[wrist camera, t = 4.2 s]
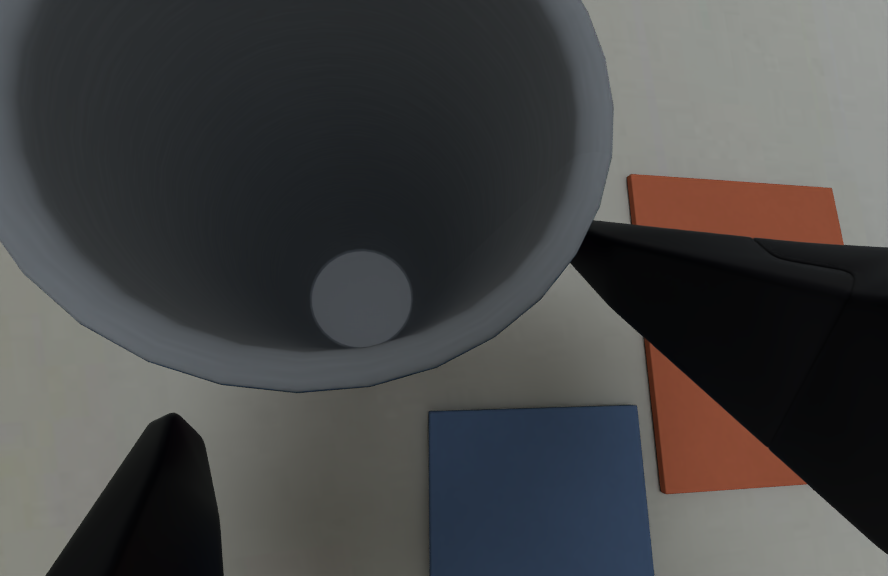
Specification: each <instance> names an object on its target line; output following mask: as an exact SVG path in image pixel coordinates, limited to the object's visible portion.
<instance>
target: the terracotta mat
mask: <svg viewBox="0 0 888 576" xmlns="http://www.w3.org/2000/svg"><path fill="white" fill-rule="evenodd" d="M627 183H628V192H629V201H630V210H631V220H632V225H642V226H651V227H661V228H670V229H680V230H689V231H699V232H708V233H717V234H727V235H736V236H746V237H751V238H752V239H753V238H755V237H756V238H765V239H775V240H785V241H796V242H807V243H822V244H836V245H844V244H843V239H842V234H841V229H840V225H839V220H838V215H837V210H836V206H835V201H834V196H833V191H832V188H823V187H809V186H795V185H780V184H766V183H751V182H737V181H723V180H708V179H694V178H679V177H665V176H651V175H636V174H631V175H629V176H628V177H627ZM644 340H645V349H646V359H647V368H648V377H649V387H650V396H651V405H652V414H653V424H654V433H655V442H656V451H657V461H658V470H659V479H660V488H661V492H662V493H665V494H676V493H690V492H704V491H718V490H732V489H747V488H761V487H775V486H789V485H803V484H807V483H806V482H805V481H803V480H802V479H801V478H800V477H799V476H798V475H797V474H796V473H794V472H793V471H792V470H791V469H790V468H789V467H788V466H787V465H786V464H784V463H783V462H782V461H781V460H780V459H779V458H778V457H777V456H775V455H774V454H773V453H772V452H771V451H770V450H769V449H768V447H766V446H765V445H764V444H762V443H761V442H760V441H759V440H758V439H757V438H756V437H755V436H753V435H752V434H751V433H750V432H749V431H748V430H747V429H746V428H745V427H743V426H742V425H741V424H740V423H739V422H738V421H737V420H736V419H734V418H733V417H732V416H731V415H730V414H729V413H728V412H727V411H726V410H724V409H723V408H722V407H721V406H720V405H719V404H718V403H717V402H716V401H714V400H713V399H712V398H711V397H710V396H709V395H708V394H707V393H705V392H704V391H703V390H702V389H701V388H700V387H699V386H698V385H697V384H695V383H694V382H693V381H692V380H691V379H690V378H689V377H688V376H686V375H685V374H684V373H683V372H682V371H681V370H680V369H679V368H678V367H676V366H675V365H674V364H673V363H672V362H671V361H670V360H669V359H667V358H666V357H665V356H664V355H663V354H662V353H661V352H660V351H659V350H657V349H656V348H655V347H654V346H653V345H652V344H651V343H650V342H649V341H647V340H646V339H645V338H644Z"/></svg>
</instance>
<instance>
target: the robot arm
mask: <svg viewBox="0 0 888 576" xmlns="http://www.w3.org/2000/svg"><path fill="white" fill-rule="evenodd" d="M570 263H571V264H572V265H573V267H574V268H575V269H576V270H577V271H578V272H579V273H580V274H581V275H582V277H583V278H584V279H585V280H586V281H587V282H588V283H589V284H590V285H591V287H592V288H593V289H594V290H595V291H596V292H597V293H598V294H599V295H600V297H601V298H602V299H603V300H604V301H605V302H606V303H607V304H608V305H609V306H610V307H611V308H612V309H613V310H614V311H615V312H616V313H617V314H618V315H619V316H621V317H622V318H623V319H624V320H625V321H626V322H627V323H628V324H630V325H631V326H632V327H633V328H634V329H635V330H636V331H637V332H638V333H640V334H641V335H642V336H643V337H644V338H645V339H646V340H647V341H649V342H650V343H651V344H652V345H653V346H654V347H655V348H656V349H657V350H659V351H660V352H661V353H662V354H663V355H664V356H665V357H666V358H667V359H669V360H670V361H671V362H672V363H673V364H674V365H675V366H676V367H678V368H679V369H680V370H681V371H682V372H683V373H684V374H685V375H686V376H688V377H689V378H690V379H691V380H692V381H693V382H694V383H695V384H697V385H698V386H699V387H700V388H701V389H702V390H703V391H704V392H705V393H707V394H708V395H709V396H710V397H711V398H712V399H713V400H714V401H716V402H717V403H718V404H719V405H720V406H721V407H722V408H723V409H724V410H726V411H727V412H728V413H729V414H730V415H731V416H732V417H733V418H734V419H736V420H737V421H738V422H739V423H740V424H741V425H742V426H743V427H745V428H746V429H747V430H748V431H749V432H750V433H751V434H752V435H753V436H755V437H756V438H757V439H758V440H759V441H760V442H761V443H762V444H764V445H765V446H766V447H768V449H769V450H770V451H771V452H772V453H773V454H774V455H775V456H777V457H778V458H779V459H780V460H781V461H782V462H783V463H784V464H786V465H787V466H788V467H789V468H790V469H791V470H792V471H793V472H794V473H796V474H797V475H798V476H799V477H800V478H801V479H802V480H803V481H805V482H806V483H807V484H808V485H809V486H810V487H811V488H812V489H813V490H815V491H816V492H817V493H818V494H819V495H820V496H821V497H822V498H823V499H825V500H826V501H827V502H828V503H829V504H830V505H831V506H832V507H834V508H835V509H836V510H837V511H838V512H839V513H840V514H841V515H842V516H844V517H845V518H846V519H847V520H848V521H849V522H850V523H851V524H852V525H854V526H855V527H856V528H857V529H858V530H859V531H860V532H861V533H863V534H864V535H865V536H866V537H867V538H868V539H869V540H870V541H871V542H873V543H874V544H875V545H876V546H877V547H879V548H880V549H881V550H882V551H884V552H885V553H886V554H888V248H887V247H870V246H853V245H836V244H822V243H807V242H796V241H785V240H775V239H765V238H756V237H755V238H753V239H752V238H751V237H746V236H736V235H727V234H717V233H708V232H699V231H689V230H680V229H670V228H661V227H651V226H642V225H632V224H623V223H614V222H604V221H595V220H593V221H592V223H591V225H590V227H589V229H588V231H587V234H586V236H585V238H584V240H583V242H582V244H581V246H580V248H579V250H578V252H577V254H576V256H575V257H574V258H573V259H572V261H571V262H570ZM46 576H224V573H223V558H222V544H221V530H220V519H219V513H218V507H217V502H216V497H215V492H214V487H213V482H212V477H211V472H210V467H209V462H208V457H207V452H206V447H205V444H204V441H203V439H202V437H201V436H200V435H199V434H198V433H197V432H196V431H195V430H194V429H193V428H192V427H191V426H190V425H189V424H188V423H187V422H186V421H185V420H184V419H183V418H182V417H181V416H180V415H178V414H176V413H169V414H167V415H165V416H163V417H161V418H158V419H156V420H154V421H152V422H151V423H150V424H149V425H148V426H147V427H146V429H145V430H144V432H143V433H142V435H141V436H140V438H139V439H138V440H137V442H136V443H135V445H134V446H133V448H132V449H131V451H130V452H129V454H128V455H127V457H126V458H125V460H124V461H123V463H122V464H121V465H120V467H119V468H118V470H117V471H116V473H115V474H114V476H113V477H112V479H111V480H110V482H109V483H108V485H107V486H106V488H105V489H104V490H103V492H102V493H101V495H100V496H99V498H98V499H97V501H96V502H95V504H94V505H93V507H92V508H91V510H90V511H89V513H88V514H87V516H86V517H85V518H84V520H83V521H82V523H81V524H80V526H79V527H78V529H77V530H76V532H75V533H74V535H73V536H72V538H71V539H70V541H69V542H68V543H67V545H66V546H65V548H64V549H63V551H62V552H61V554H60V555H59V557H58V558H57V560H56V561H55V563H54V564H53V565H52V567H51V568H50V570H49V571H48V573H47V574H46Z"/></svg>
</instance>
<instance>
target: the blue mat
mask: <svg viewBox="0 0 888 576" xmlns="http://www.w3.org/2000/svg"><path fill="white" fill-rule="evenodd" d="M429 557H430V576H654V569H653V559H652V549H651V539H650V529H649V519H648V510H647V500H646V490H645V480H644V470H643V460H642V450H641V440H640V431H639V421H638V411H637V406H636V405H614V406H582V407H549V408H517V409H484V410H452V411H429Z"/></svg>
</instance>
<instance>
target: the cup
mask: <svg viewBox="0 0 888 576" xmlns="http://www.w3.org/2000/svg"><path fill="white" fill-rule="evenodd" d="M613 108H614V107H613V101H612V95H611V89H610V83H609V77H608V71H607V66H606V60H605V56H604V53H603V51H602V48H601V45H600V43H599V40H598V37H597V35H596V32H595V29H594V27H593V24H592V21H591V19H590V16H589V13H588V11H587V9H586V8H585V6H584V4H583V3H582V1H581V0H0V241H1V243H2V244H3V245H4V247H5V248H6V250H7V251H8V252H9V254H10V255H11V257H12V258H13V260H14V261H15V262H16V264H17V265H18V267H19V268H20V269H21V271H22V272H23V273H24V274H25V275H26V276H27V277H28V278H29V279H30V280H31V281H33V282H34V283H35V284H36V285H37V286H38V287H39V288H40V289H42V290H43V291H44V292H45V293H46V294H47V295H48V296H49V297H51V298H52V299H53V300H54V301H55V302H56V303H57V304H58V305H60V306H61V307H62V308H63V309H64V310H65V311H66V312H67V313H69V314H70V315H71V316H72V317H73V318H74V319H75V320H76V321H78V322H79V323H80V324H81V325H83V326H85V327H87V328H89V329H90V330H92V331H94V332H96V333H98V334H99V335H101V336H103V337H105V338H106V339H108V340H110V341H112V342H114V343H115V344H117V345H119V346H121V347H123V348H124V349H126V350H128V351H130V352H132V353H133V354H135V355H137V356H139V357H140V358H142V359H144V360H146V361H148V362H151V363H154V364H157V365H160V366H163V367H167V368H170V369H173V370H176V371H179V372H182V373H186V374H189V375H192V376H195V377H198V378H202V379H205V380H208V381H211V382H214V383H217V384H221V385H228V386H237V387H246V388H255V389H264V390H274V391H283V392H292V393H304V392H316V391H327V390H339V389H350V388H362V387H371V386H375V385H378V384H382V383H385V382H389V381H392V380H396V379H399V378H402V377H406V376H409V375H413V374H416V373H420V372H423V371H427V370H430V369H434V368H437V367H439V366H441V365H443V364H445V363H447V362H448V361H450V360H452V359H454V358H456V357H458V356H460V355H462V354H464V353H466V352H468V351H469V350H471V349H473V348H475V347H477V346H479V345H481V344H483V343H485V342H487V341H489V340H490V339H492V338H494V337H496V336H497V335H498V334H499V333H500V332H502V331H503V330H504V329H505V328H506V327H508V326H509V325H510V324H511V323H513V322H514V321H515V320H516V319H517V318H519V317H520V316H521V315H522V314H524V313H525V312H526V311H527V310H528V309H530V308H531V307H532V306H533V305H534V304H536V303H537V302H538V301H539V300H541V298H542V297H543V296H544V295H545V293H546V292H547V291H548V290H549V288H550V287H551V286H552V285H553V283H554V282H555V281H556V280H557V278H558V277H559V276H560V275H561V273H562V272H563V271H564V269H565V268H566V267H567V266H568V264H569V263H570V262H571V261H572V259H573V258H574V257H575V256H576V254H577V252H578V250H579V248H580V246H581V244H582V242H583V240H584V238H585V236H586V234H587V231H588V229H589V227H590V225H591V223H592V221H593V219H594V217H595V215H596V213H597V211H598V209H599V207H600V203H601V199H602V195H603V191H604V187H605V183H606V179H607V175H608V171H609V166H610V162H611V158H612V140H613Z"/></svg>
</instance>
